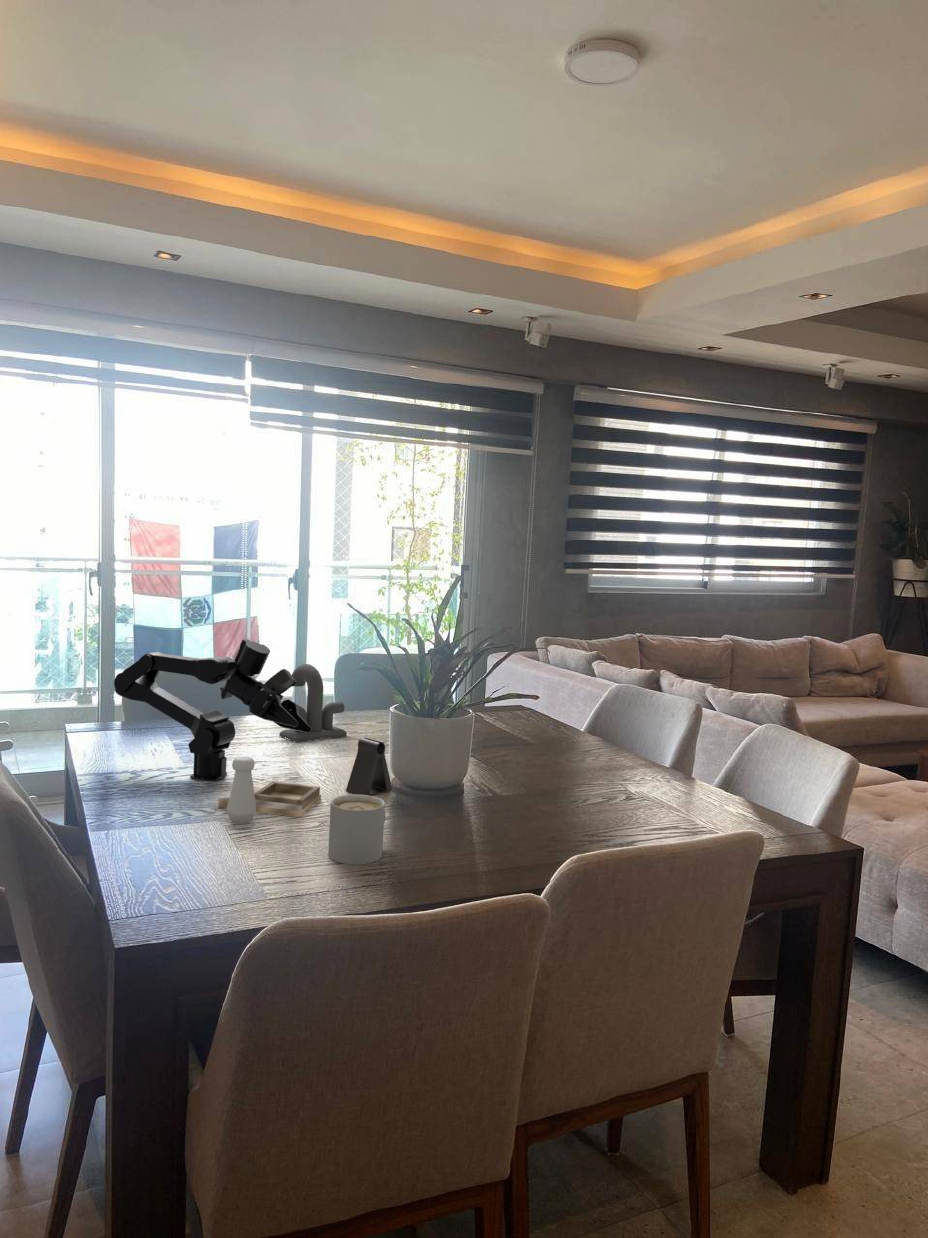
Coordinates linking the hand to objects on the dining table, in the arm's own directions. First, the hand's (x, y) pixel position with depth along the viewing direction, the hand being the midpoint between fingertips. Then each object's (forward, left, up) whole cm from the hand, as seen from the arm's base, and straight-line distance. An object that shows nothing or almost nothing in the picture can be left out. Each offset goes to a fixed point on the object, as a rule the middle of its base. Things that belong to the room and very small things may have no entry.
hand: (303, 727), depth 208 cm
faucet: (-19, +57, -15) cm, 62 cm away
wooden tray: (-3, -9, -15) cm, 18 cm away
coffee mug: (+24, -31, -15) cm, 42 cm away
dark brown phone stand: (+14, +8, -15) cm, 22 cm away
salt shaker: (-4, -22, -15) cm, 27 cm away
